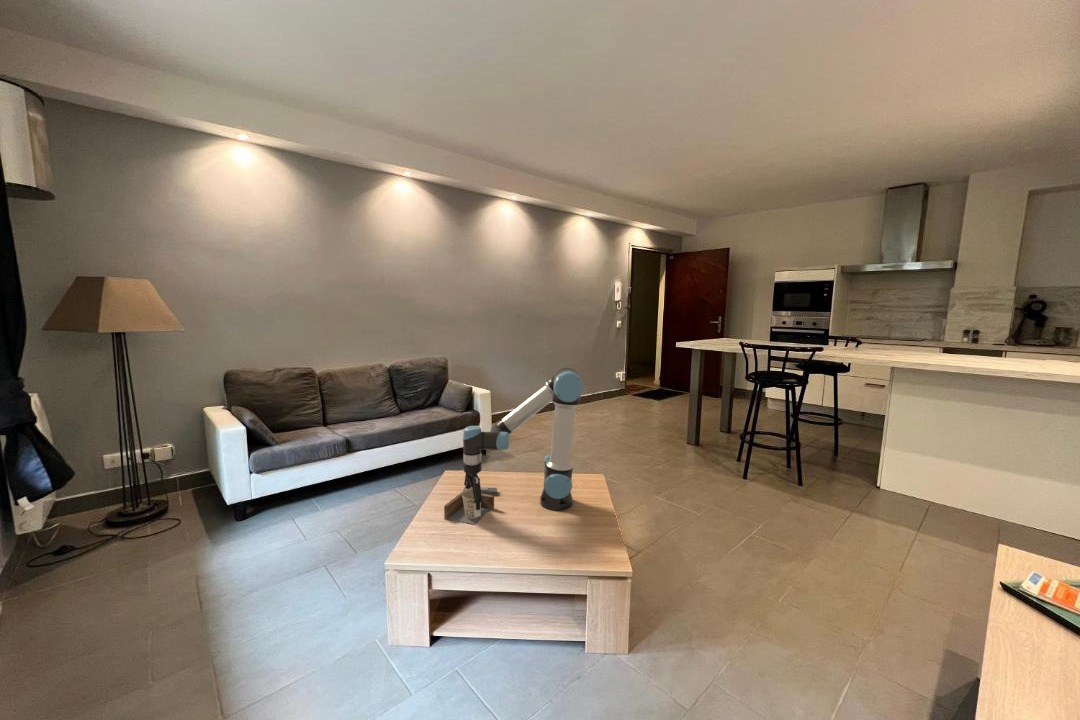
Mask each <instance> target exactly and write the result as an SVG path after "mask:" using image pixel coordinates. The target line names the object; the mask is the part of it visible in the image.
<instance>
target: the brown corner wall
mask: <svg viewBox="0 0 1080 720" xmlns="http://www.w3.org/2000/svg"><path fill="white" fill-rule="evenodd" d="M464 492H466V491H463V490H462V492H459V494H457V495H456V496H455V497H453V498H452V499H451V500H450V501H448V502H447V503H445V504H444V505H443V506H444V507H443V511H444V513H443V515H444V520H446V521H448V520H449V519H448V518H450V517H451V516H452V515H453V514H454V513H456V512H457V511H458V510H459V509H460V508H462V507H463V506H464V504H463V497H462V495H463V493H464ZM481 507H483V508H488V509H490V510H491V511H493V510H495V495H487V494H482V502H481Z"/></svg>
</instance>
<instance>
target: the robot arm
mask: <svg viewBox="0 0 1080 720" xmlns="http://www.w3.org/2000/svg"><path fill="white" fill-rule="evenodd" d="M583 384H584V383H583V380H582V378H581V377H580V374H579V373H578V372H577V371H576V370H575V369H574V368H571V367H563V368H560V369H559V370H557V371H556V372H555V373H554V374H553V375H552V376H551V377H550V378H548V380H546V381H545V384H544V386H542V387H541V388H539V389H538V390H537V391H536V392H535V393H533V394H532V395H531V396H529V397H528V398H527V399H526V400H524V401H523V402H522V403H520V404H519V405H518V406H517V407H516V408H514V409H513V410H511V411H510V412H509V413H508V414H506V416H504V417H503V418H502V419H500V420H499V421H496V422H494V424H493V425H492V426H491V427H490V431H482V428H481V426H479V425H469V426H466V427H465V428H464V429H463V434H462V442H463V444H462V445H463V448H462V449H463V472H464V473H465V475H464V483H463V484H464V488H466V491H469V490H473V495H474V500H475V501H474V502H473V503H474V517H478V516H481V502H482V495H481V479H480V477H479V475H478V474H479V473H481V472H482V456H483V453H482V450H485V451H486V450H487V451H489V450H491V451H494V450H495V451H505V450H509V448H510V434H511V433H513V432H514V431H516V430H517V429H518V428H519V427H520V426H522V425H523V424H525V422H527V421H528V420H530V419H531V418H533V416H535V415H536V414H537V413H539V412H540V411H541V410H542V409H544V408H545V407H546V406H548V405H549V404H550V403H551V402H552V403H553V404H554V415H553V416H554V417H553V424H552V425H553V427H552V436H551V446H550V454H546V455H545V456H544V461H543V462H544V465H543V467H544V470H543V473H544V475H543V477H544V478H543V480H544V481H543V489H542V491H541V495H540V499H539V500H540V502H539V503H540V504H539V505H540V506H541V507H543V508H545V509H546V510H549V511H550V510H551V511H564V510H565V511H566V510H568V509H570V508H571V507H572V506H573V503H574V500H573V494H572V488H573V482H572V478H573V471H574V469H573V468H574V465H573V463H572V462H571V454H572V445H573V436H574V435H573V434H574V429H575V427H574V426H575V419H576V410H577V407H579V406H580V404H581V396H582V393H583V390H584V385H583ZM471 487H472V488H471Z"/></svg>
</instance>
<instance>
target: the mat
mask: <svg viewBox="0 0 1080 720" xmlns="http://www.w3.org/2000/svg"><path fill="white" fill-rule="evenodd" d="M490 510H491V509H488V508H483V507H481V516H479V517H478V518H476V519H467V518H466V516H465V510H464V506H463V507H462V508H460V509H459V510H458V511H457V512H456V513H454V514H453V515H452V516H451V517H450V518H448V520H450V521H454V522H459V523H462V524H463V523H465V524H469V525H473V526H474V525H476V524H477V523H478V522H479V521H480V520H482V518H483V517H484V516H485V515H486V514H487V513H488V512H489V511H490Z"/></svg>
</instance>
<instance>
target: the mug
mask: <svg viewBox="0 0 1080 720" xmlns="http://www.w3.org/2000/svg"><path fill="white" fill-rule="evenodd" d="M481 495H482V493H481ZM462 497H463V504H464V510H465V516H466V518H467V519H476V518H478V517H479V516H478V517H474V503H473V502H474V501H475V500H474V495H473V490H469V491H466V492H464V493H463V495H462Z"/></svg>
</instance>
